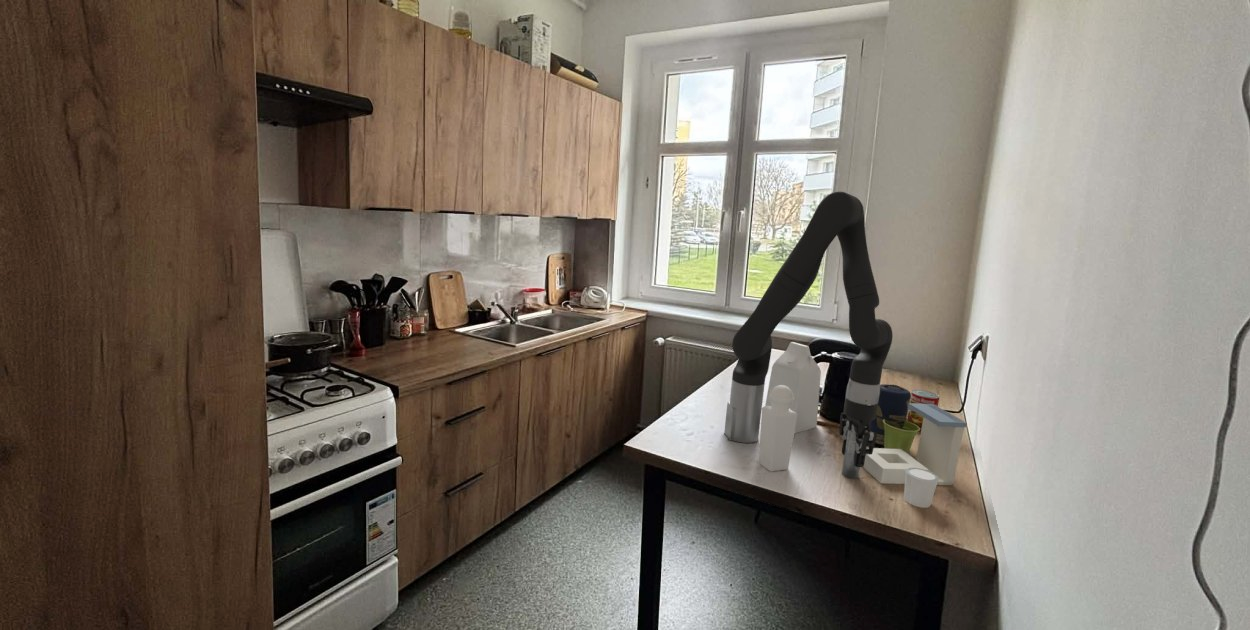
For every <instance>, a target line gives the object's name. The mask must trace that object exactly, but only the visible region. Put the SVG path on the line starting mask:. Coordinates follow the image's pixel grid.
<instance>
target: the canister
mask: <svg viewBox="0 0 1250 630" xmlns="http://www.w3.org/2000/svg"><path fill="white" fill-rule="evenodd" d="M910 399H911V392H910V391H909V390H908V389H906V388H904V387H902V386H899V385H896V384H884V383H883V384H881V383H880V394H879V400H878V407H877V413H876V418H875V419H874V420H872V421H871V422H870V431H871V432H876V434H877V437H876V441H875V444H878V445H881V446H883V447H884V437H885V428H884V423H883V420H884V419H885V423H886V424H888V425H890V426H892V427H895V428H898V429H903V426H904V423H905V421H907V416H908V410H909V408H908V404H909V403H910Z"/></svg>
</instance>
